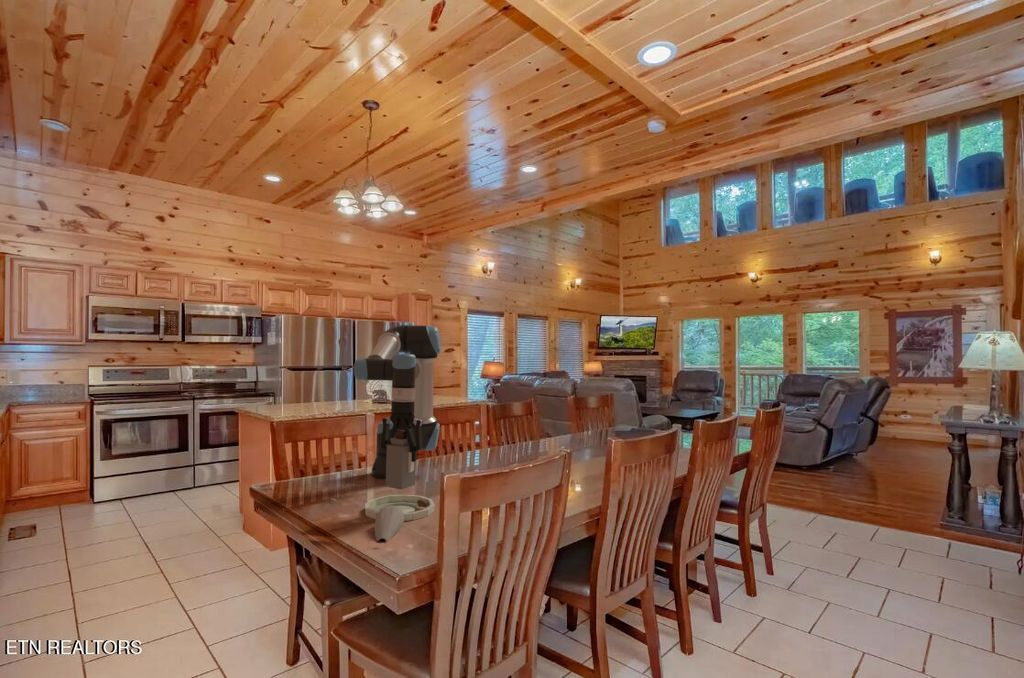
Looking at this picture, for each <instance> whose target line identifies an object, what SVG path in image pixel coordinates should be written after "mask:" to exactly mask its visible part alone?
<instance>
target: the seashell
mask: <svg viewBox="0 0 1024 678" xmlns="http://www.w3.org/2000/svg"><path fill="white" fill-rule="evenodd" d="M404 522H405V521H404V513H403V511H402V510H401V509H400V508H399V507H397V506H393V505H390V506H387V507H385V508H383V509H381V510H380V512H379V513H378V515H377V517H376V520H375V519H374V535H375V539H376V543H379V541H380V540H384V542H385V543H388V542H390V540H391V539H393V537H394V536H395V535H396V534H398V532H399V530H400V529H401V527H402V525H403V523H404Z"/></svg>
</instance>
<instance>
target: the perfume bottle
mask: <svg viewBox="0 0 1024 678" xmlns="http://www.w3.org/2000/svg"><path fill="white" fill-rule="evenodd" d="M390 440H391V445H390V444H389V445H387V456H386V478H385V487H386V488H393V489H396V490H404V489H408V488H410V487H412V486H415V485H416V466H417V465H416V463H417V460H416V461H415V462H414V471H412V472H408V463H409V452H410V451H411V449H410V445H409V441H408V438H407V434H406V432H405V430H398V431H395V437H394V438H390Z"/></svg>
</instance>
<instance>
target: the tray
mask: <svg viewBox="0 0 1024 678" xmlns="http://www.w3.org/2000/svg"><path fill="white" fill-rule="evenodd" d="M419 499H425V500H426V507H424V509H423V510H420V511H416V512H415V508H416V507H419V506H418V505H417V503H418V500H419ZM390 505H393V506H397V507H399V508H400V509H401V510H402V511H403V513H404V521H403V522H407V521H415V520H419V519H422V518H425V517H429V516H430V515H431V514H433V512H435V511H436V509H435V508H436V506H435V505H436V504H435V502H434V501H433V499H431V498H429V497H426V496H423V495H417V494H415V495H414V494H394V495H393V494H391V495H389V494H388V495H385V496H380V497H376V498H375V497H374V498H373V499H370V500H369V501H367V502H366V503H364V513H365V514H364V515H365V516H366V517H368V518H371V519H373V520H374V521H375V520H376V517H377V515H378V513H379V512H380V510H381V509H383V508H385V507H387V506H390Z"/></svg>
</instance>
